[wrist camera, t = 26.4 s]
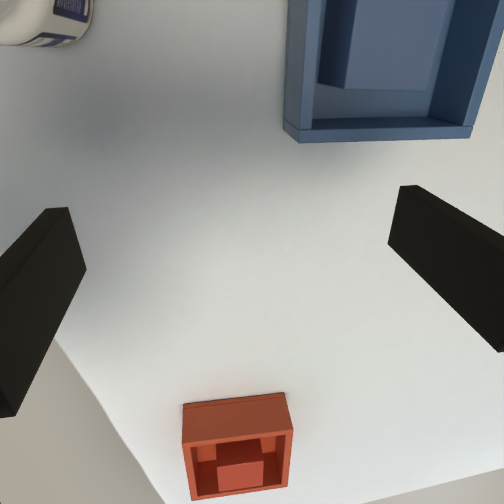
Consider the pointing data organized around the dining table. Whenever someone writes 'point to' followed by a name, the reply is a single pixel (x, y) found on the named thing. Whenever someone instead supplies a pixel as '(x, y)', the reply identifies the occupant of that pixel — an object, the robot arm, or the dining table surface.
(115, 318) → the dining table surface
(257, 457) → the red block
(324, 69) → the blue block
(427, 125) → the blue bin
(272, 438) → the red bin
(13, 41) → the pill bottle
